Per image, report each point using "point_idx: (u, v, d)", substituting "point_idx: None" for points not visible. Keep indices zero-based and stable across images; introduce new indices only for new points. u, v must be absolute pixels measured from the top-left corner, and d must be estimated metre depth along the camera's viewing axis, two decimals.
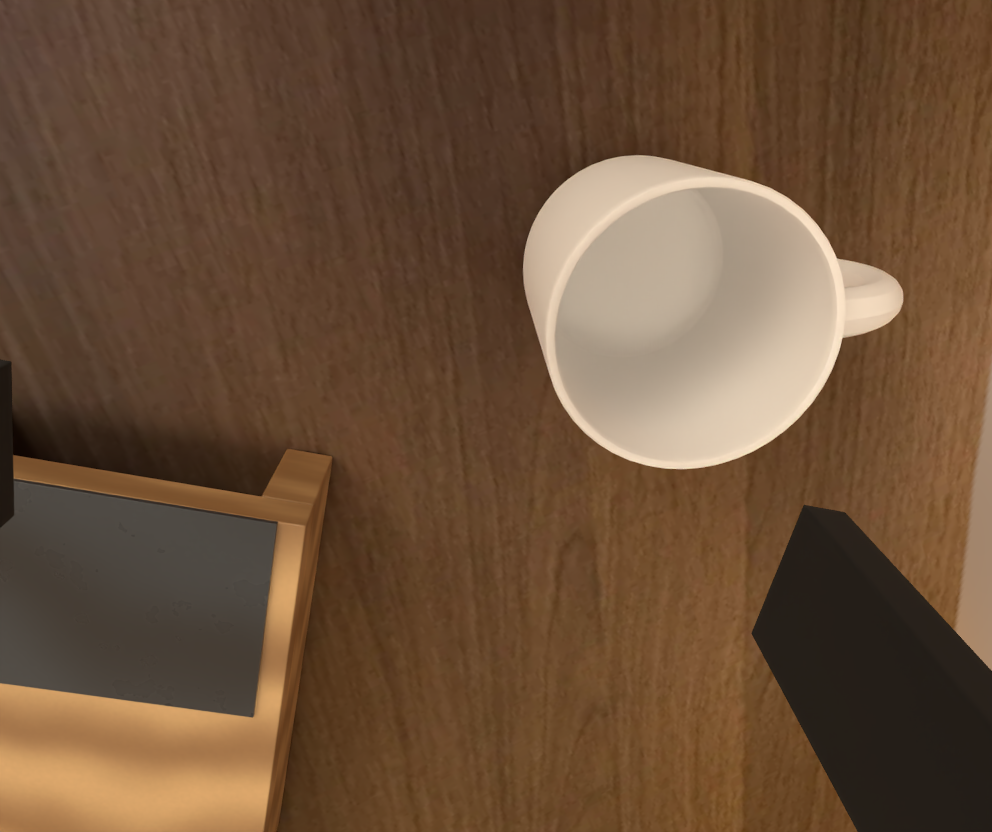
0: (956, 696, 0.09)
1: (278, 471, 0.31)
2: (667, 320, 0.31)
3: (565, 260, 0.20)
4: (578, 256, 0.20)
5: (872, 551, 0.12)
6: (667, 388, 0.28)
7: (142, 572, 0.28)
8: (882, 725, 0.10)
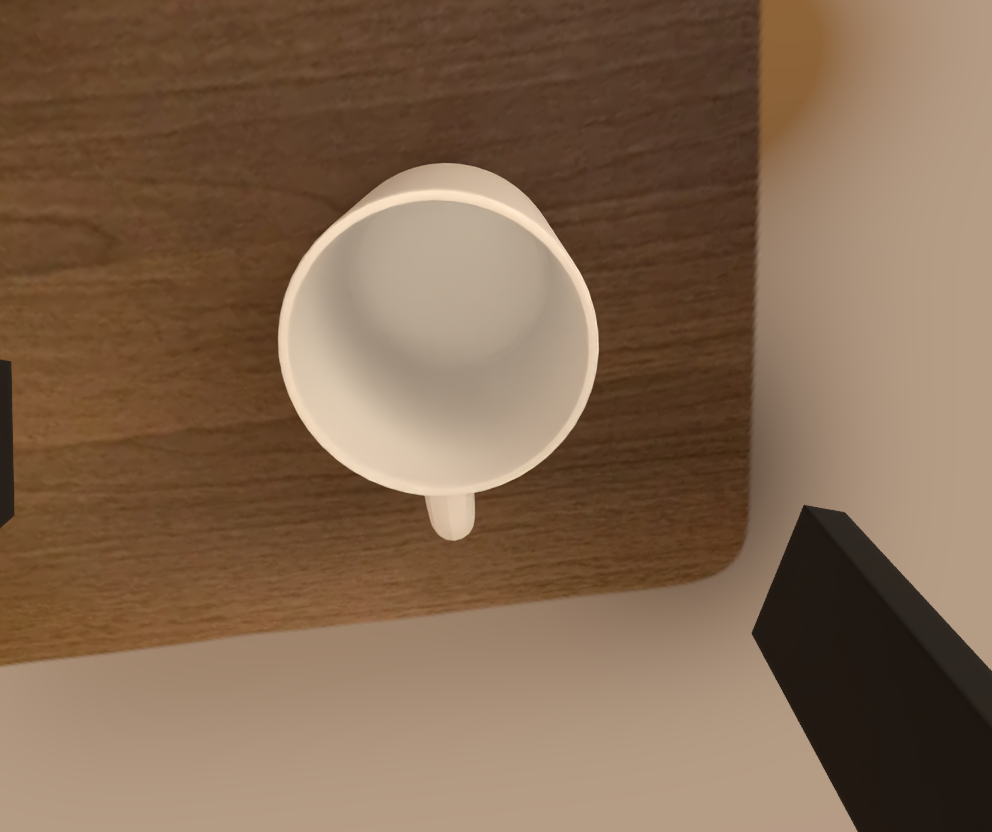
0: (957, 696, 0.09)
1: None
2: (390, 323, 0.30)
3: (516, 208, 0.19)
4: (522, 223, 0.19)
5: (872, 551, 0.12)
6: (335, 331, 0.25)
7: None
8: (882, 725, 0.10)
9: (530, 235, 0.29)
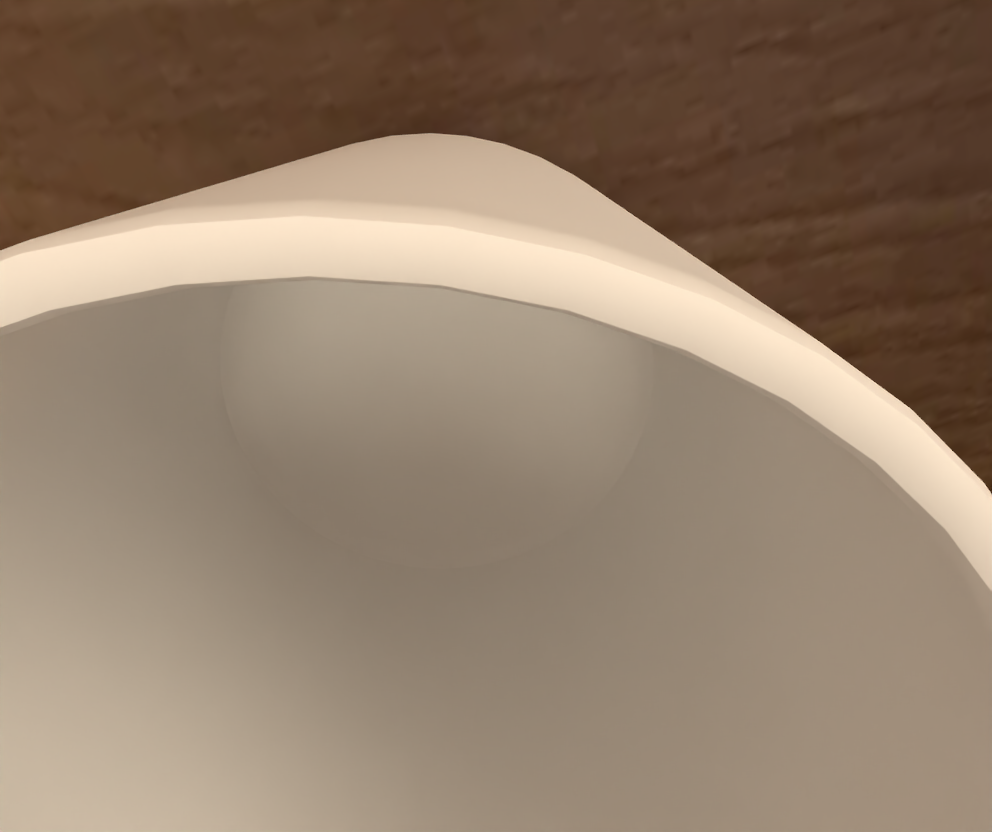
0: None
1: None
2: (316, 473, 0.14)
3: (793, 327, 0.03)
4: (838, 414, 0.03)
5: None
6: (143, 552, 0.10)
7: None
8: None
9: None
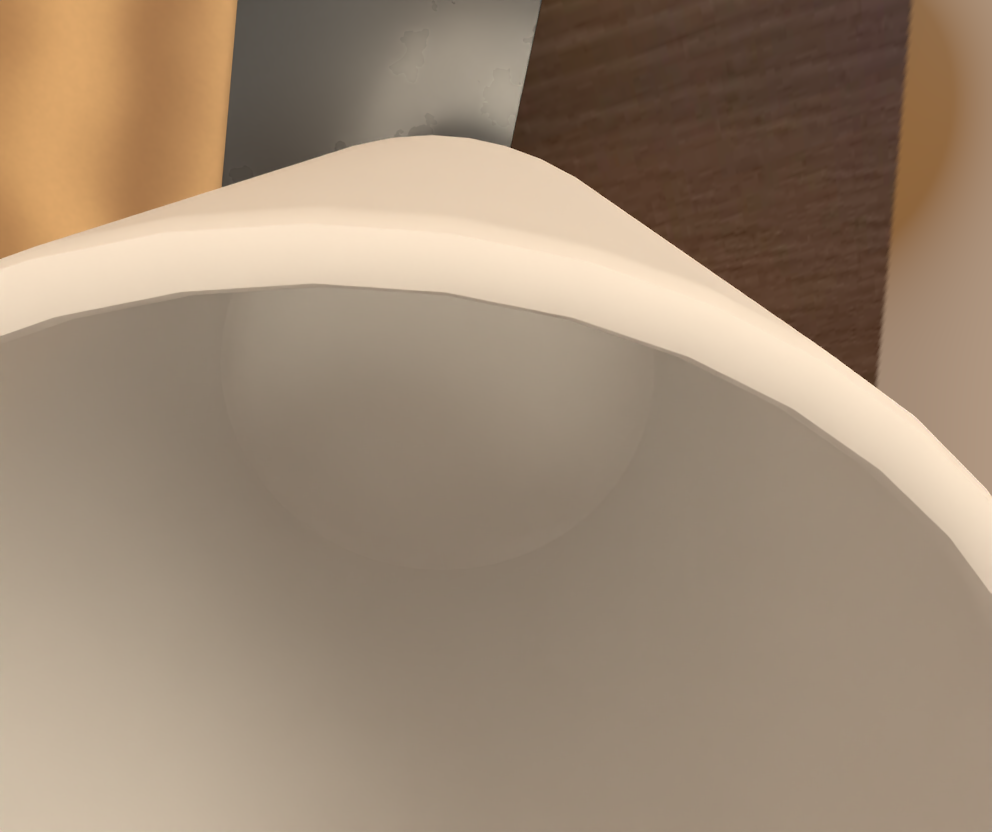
0: None
1: None
2: (317, 474, 0.14)
3: (796, 334, 0.03)
4: (841, 421, 0.03)
5: None
6: (144, 554, 0.10)
7: None
8: None
9: None
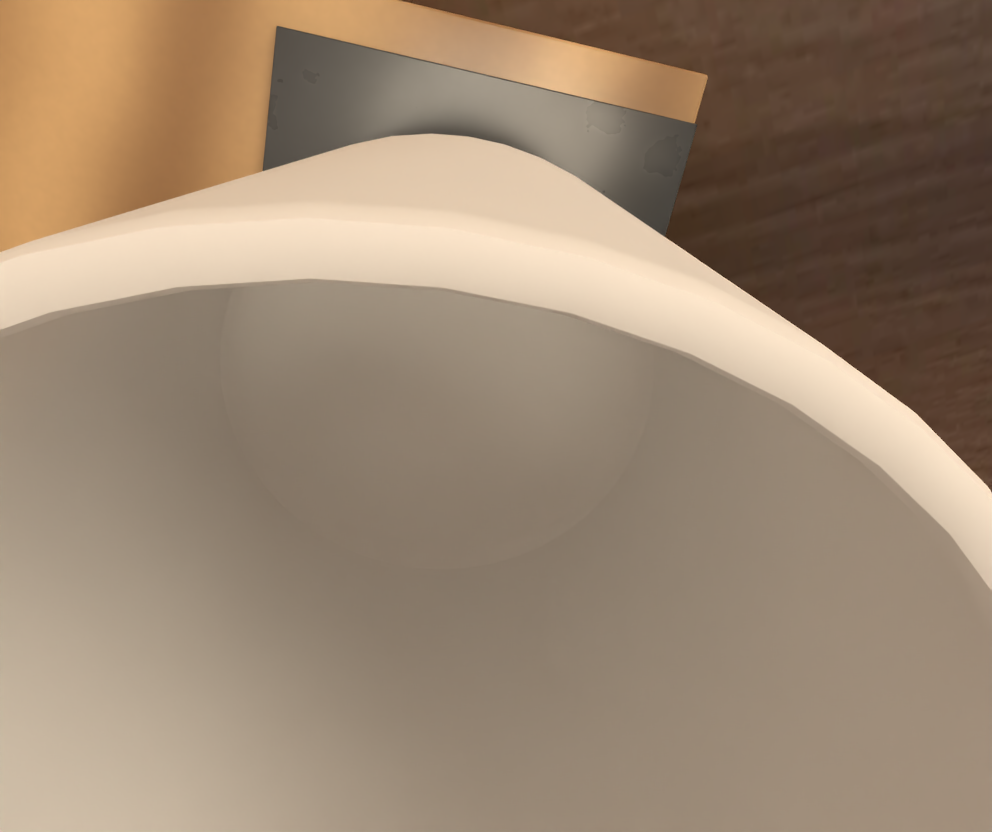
0: None
1: None
2: (316, 473, 0.14)
3: (797, 329, 0.03)
4: (841, 417, 0.03)
5: None
6: (142, 553, 0.10)
7: None
8: None
9: None
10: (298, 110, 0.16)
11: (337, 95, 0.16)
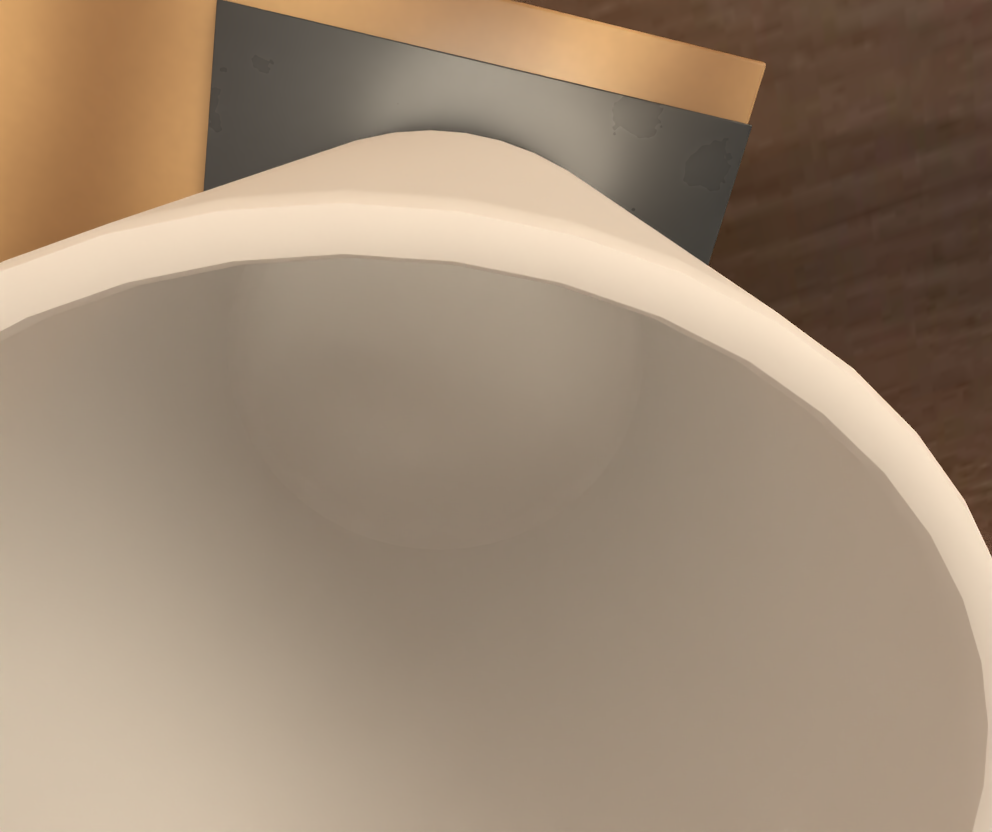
0: None
1: None
2: (319, 457, 0.15)
3: (753, 298, 0.04)
4: (789, 371, 0.04)
5: None
6: (159, 528, 0.11)
7: None
8: None
9: None
10: (247, 107, 0.13)
11: (296, 88, 0.13)
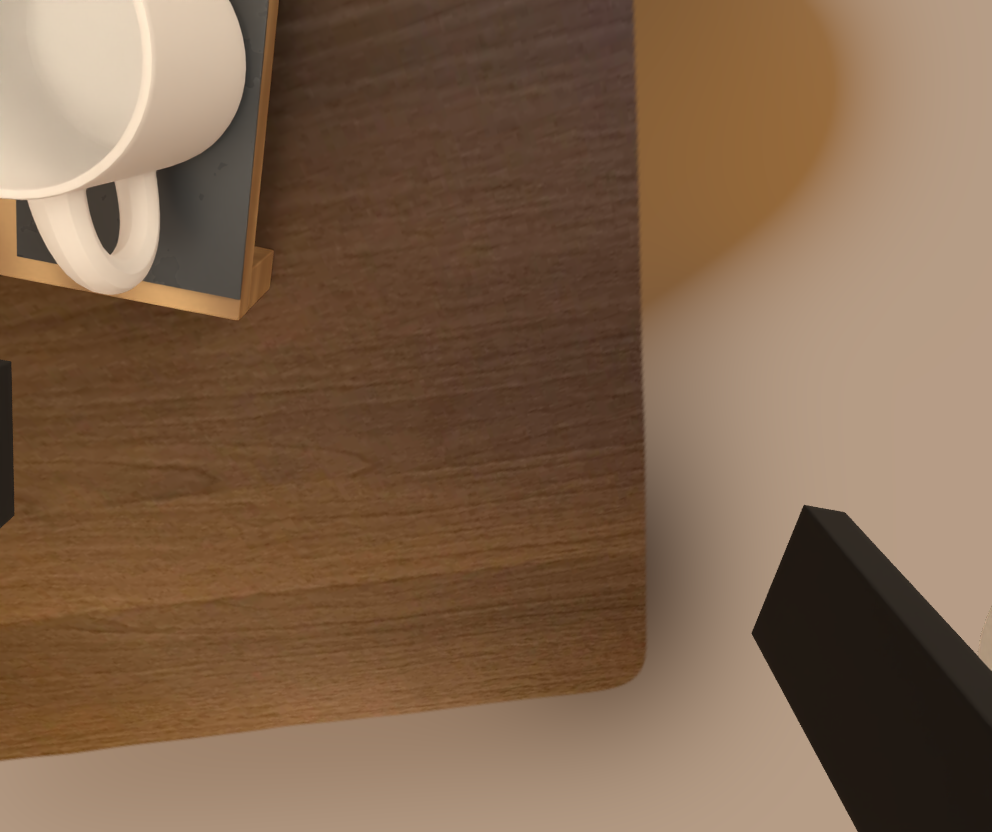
0: (956, 696, 0.09)
1: (263, 262, 0.36)
2: (82, 103, 0.29)
3: None
4: None
5: (872, 551, 0.12)
6: None
7: (175, 176, 0.31)
8: (882, 725, 0.10)
9: None
10: None
11: None
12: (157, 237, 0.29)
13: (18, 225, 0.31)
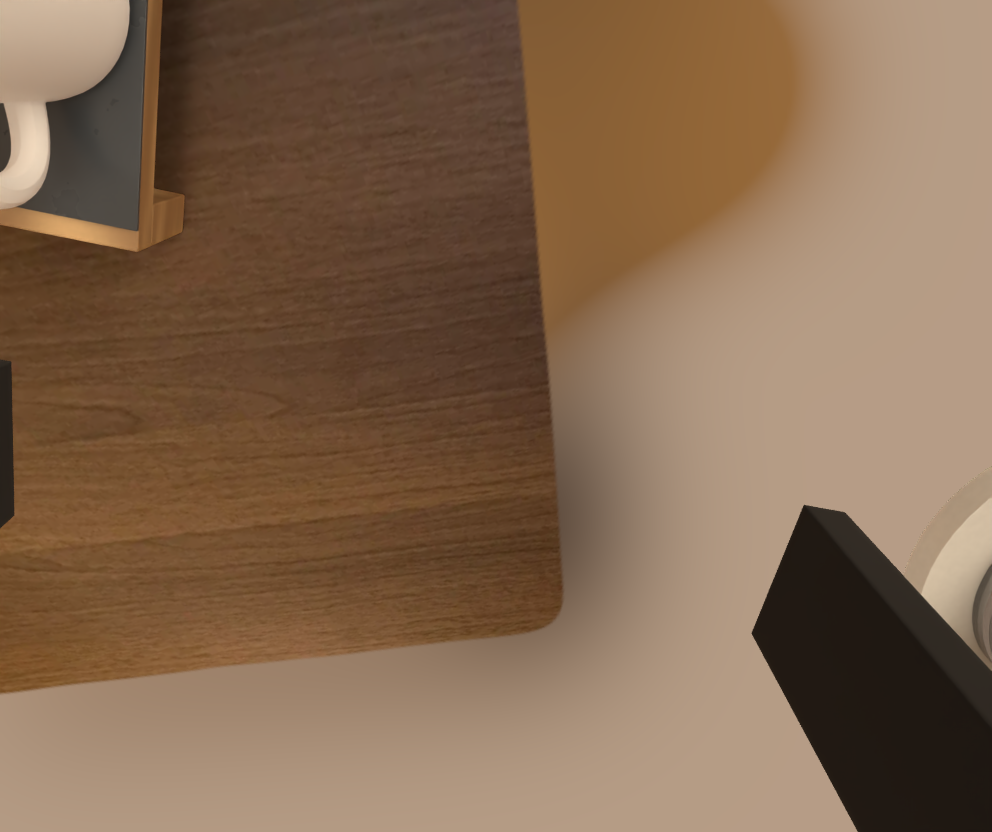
0: (956, 696, 0.09)
1: (169, 202, 0.38)
2: None
3: None
4: None
5: (872, 551, 0.12)
6: None
7: (71, 111, 0.33)
8: (882, 726, 0.10)
9: None
10: None
11: None
12: (46, 163, 0.31)
13: None
